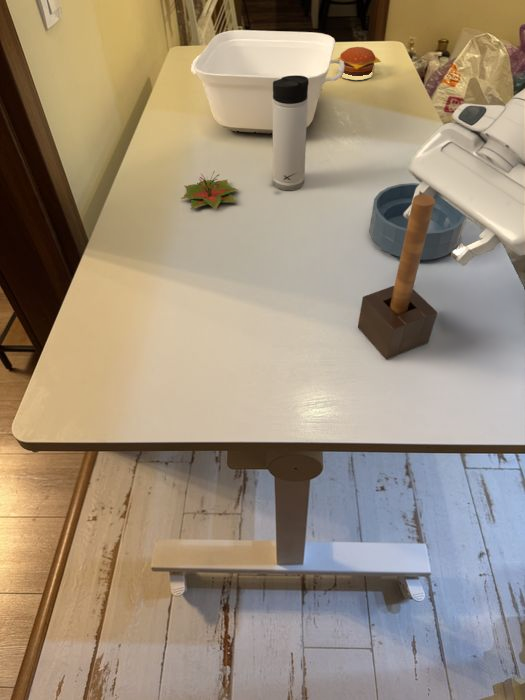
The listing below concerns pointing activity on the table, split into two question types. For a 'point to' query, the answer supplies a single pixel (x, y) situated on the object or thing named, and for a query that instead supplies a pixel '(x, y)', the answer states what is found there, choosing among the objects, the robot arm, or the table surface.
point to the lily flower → (209, 193)
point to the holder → (395, 323)
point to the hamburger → (358, 61)
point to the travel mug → (289, 131)
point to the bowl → (393, 225)
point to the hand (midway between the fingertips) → (431, 239)
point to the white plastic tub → (261, 73)
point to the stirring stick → (411, 252)
